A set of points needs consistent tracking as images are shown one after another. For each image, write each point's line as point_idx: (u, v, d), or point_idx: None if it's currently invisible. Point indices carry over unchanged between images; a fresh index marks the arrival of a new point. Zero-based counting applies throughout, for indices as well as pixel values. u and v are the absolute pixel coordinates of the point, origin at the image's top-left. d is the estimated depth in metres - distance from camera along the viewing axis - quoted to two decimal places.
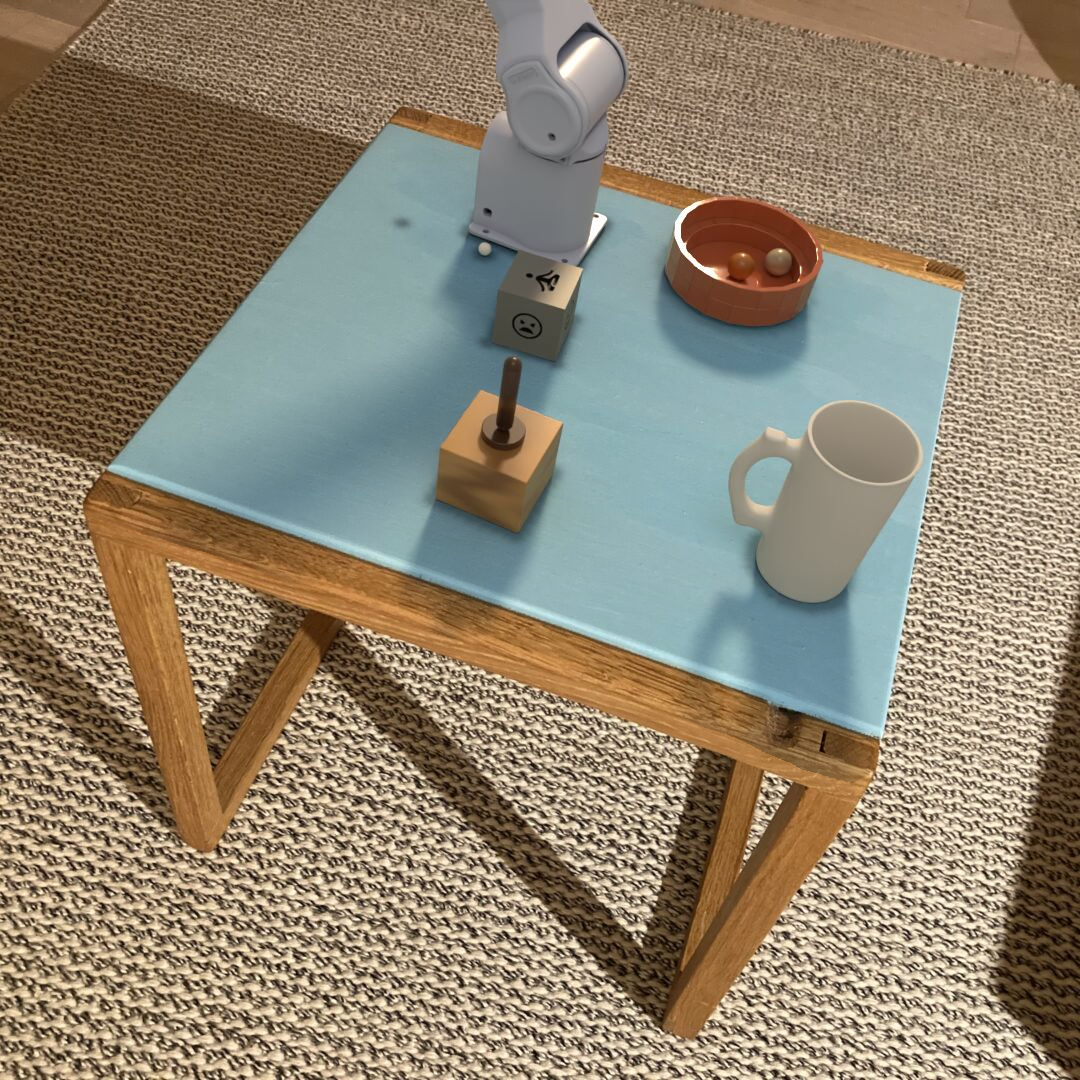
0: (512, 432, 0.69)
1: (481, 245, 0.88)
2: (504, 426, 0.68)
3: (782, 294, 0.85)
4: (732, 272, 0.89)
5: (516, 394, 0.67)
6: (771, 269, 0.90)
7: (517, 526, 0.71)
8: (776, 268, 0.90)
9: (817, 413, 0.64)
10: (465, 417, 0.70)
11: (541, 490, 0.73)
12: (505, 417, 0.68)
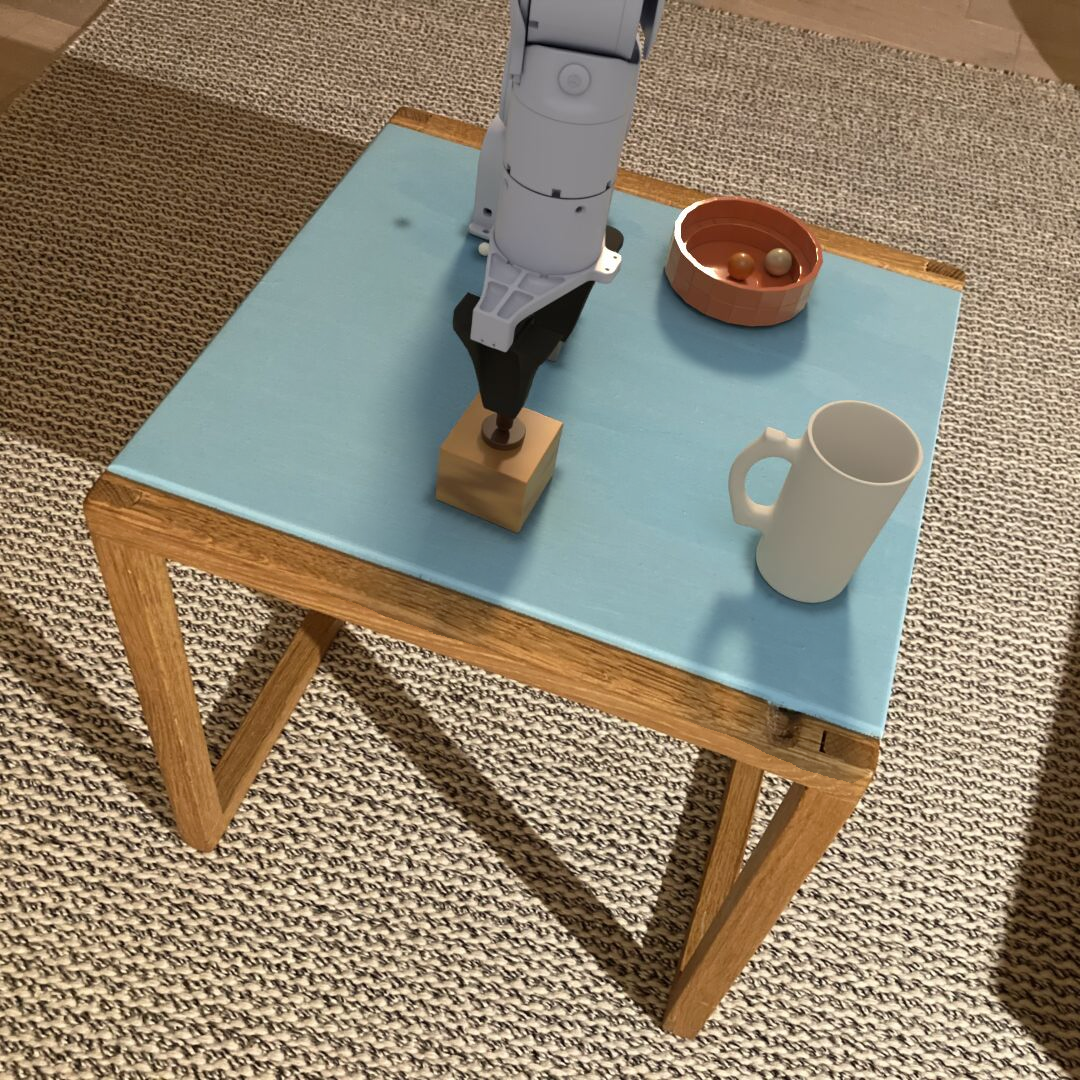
0: (512, 432, 0.69)
1: (481, 245, 0.88)
2: (504, 426, 0.68)
3: (782, 294, 0.85)
4: (732, 272, 0.89)
5: None
6: (771, 269, 0.90)
7: (517, 526, 0.71)
8: (776, 268, 0.90)
9: (817, 413, 0.64)
10: (465, 417, 0.70)
11: (541, 490, 0.73)
12: (505, 417, 0.68)
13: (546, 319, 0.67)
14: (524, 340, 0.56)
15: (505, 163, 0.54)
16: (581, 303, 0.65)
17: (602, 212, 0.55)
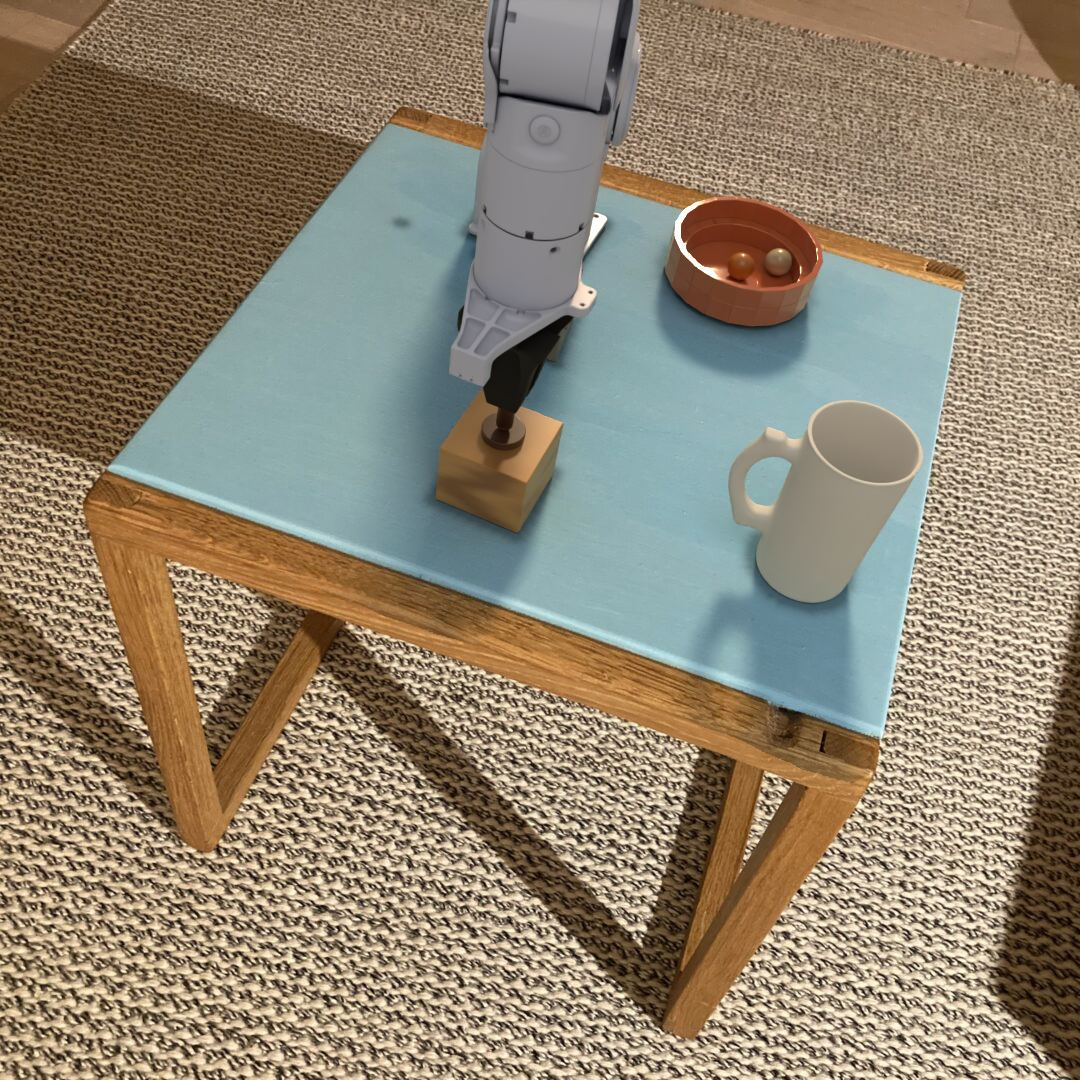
0: (512, 432, 0.69)
1: None
2: (504, 426, 0.68)
3: (782, 294, 0.85)
4: (732, 272, 0.89)
5: None
6: (771, 269, 0.90)
7: (517, 526, 0.71)
8: (776, 268, 0.90)
9: (817, 413, 0.64)
10: (465, 417, 0.70)
11: (541, 490, 0.73)
12: (505, 417, 0.68)
13: None
14: (524, 341, 0.60)
15: (482, 204, 0.56)
16: None
17: (577, 252, 0.57)
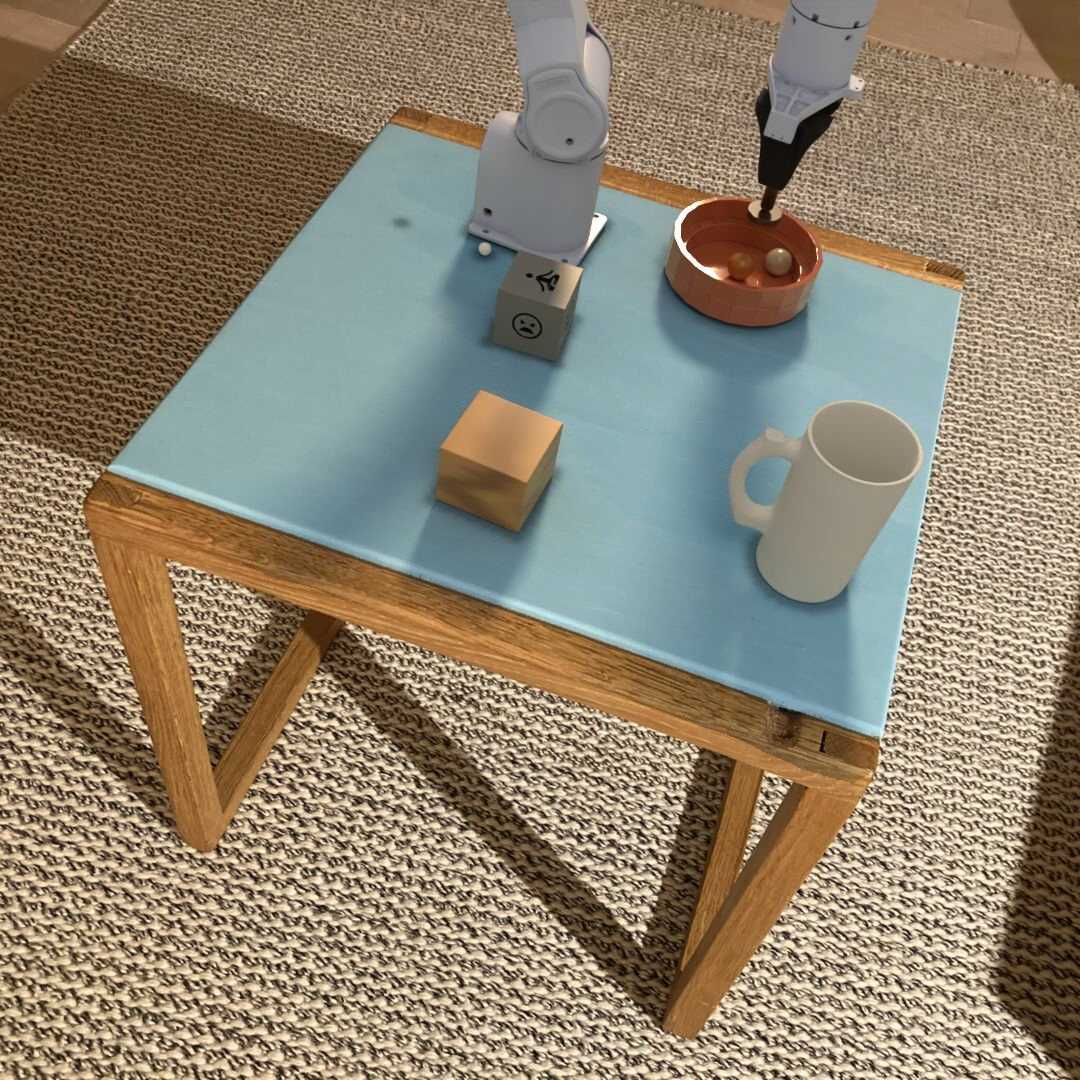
0: (772, 213, 0.88)
1: (481, 245, 0.88)
2: (768, 207, 0.88)
3: (782, 294, 0.85)
4: (732, 272, 0.89)
5: None
6: (771, 269, 0.90)
7: (517, 526, 0.71)
8: (776, 268, 0.90)
9: (817, 413, 0.64)
10: (465, 417, 0.70)
11: (541, 490, 0.73)
12: (771, 198, 0.87)
13: None
14: (809, 119, 0.79)
15: (850, 25, 0.74)
16: None
17: (861, 42, 0.76)
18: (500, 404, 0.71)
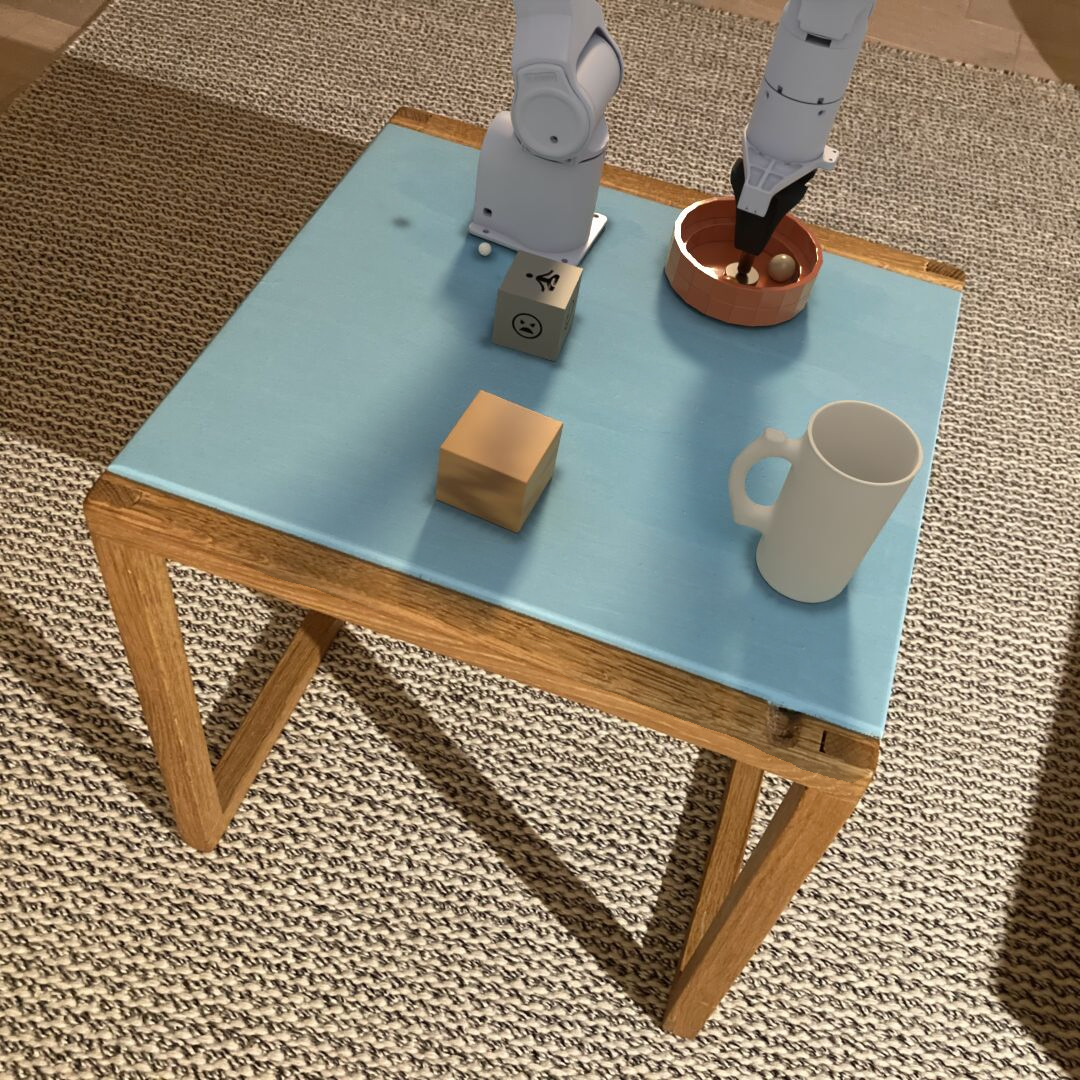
0: (749, 276, 0.89)
1: (481, 245, 0.88)
2: (745, 270, 0.88)
3: (782, 294, 0.85)
4: None
5: None
6: (772, 277, 0.90)
7: (517, 526, 0.71)
8: (777, 278, 0.90)
9: (817, 413, 0.64)
10: (465, 417, 0.70)
11: (541, 490, 0.73)
12: (747, 262, 0.87)
13: None
14: (783, 189, 0.80)
15: (814, 100, 0.74)
16: None
17: (834, 116, 0.76)
18: (500, 404, 0.71)
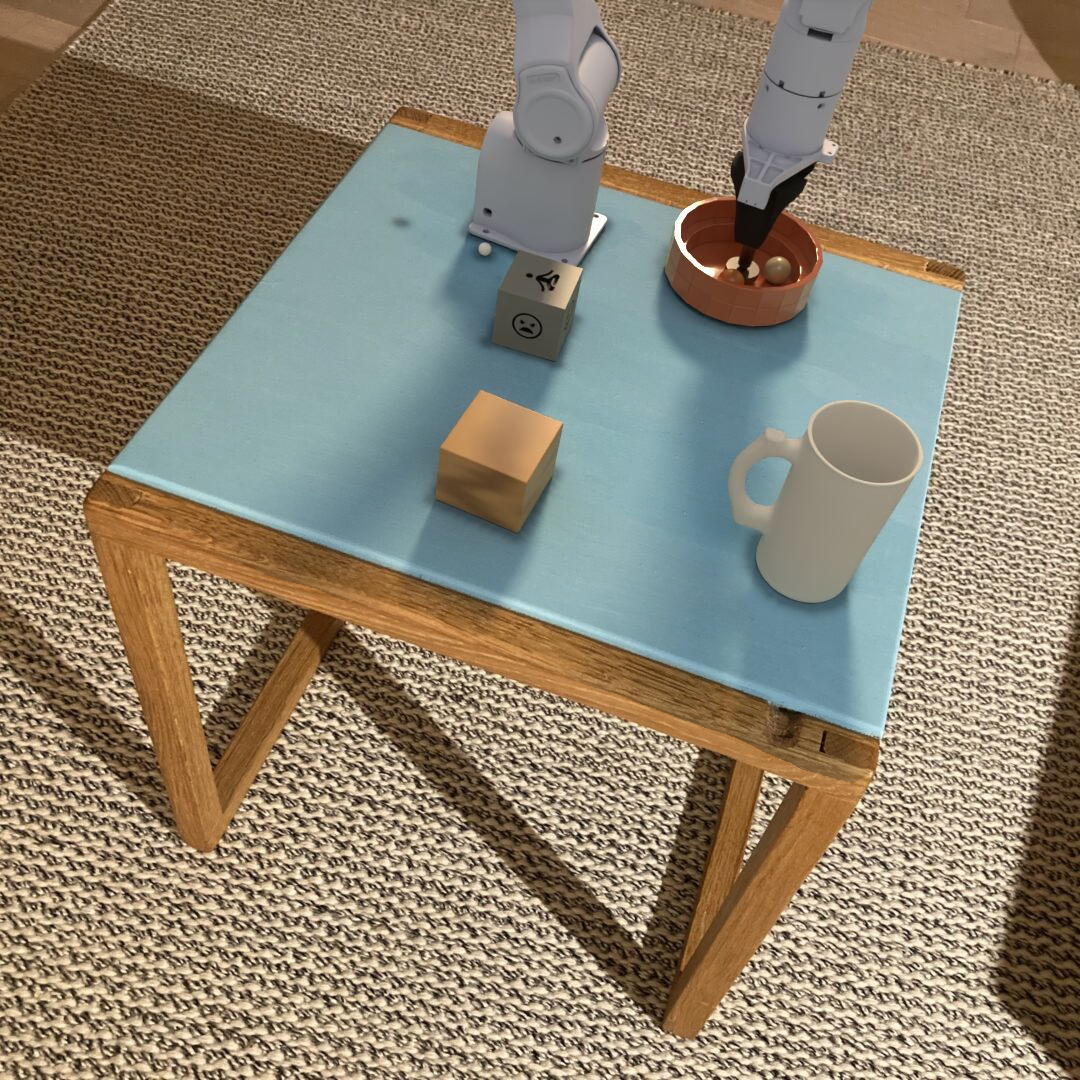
0: (749, 271, 0.89)
1: (481, 245, 0.88)
2: (744, 264, 0.89)
3: (782, 294, 0.85)
4: None
5: None
6: (769, 281, 0.90)
7: (517, 526, 0.71)
8: (773, 283, 0.90)
9: (817, 413, 0.64)
10: (465, 417, 0.70)
11: (541, 490, 0.73)
12: (747, 256, 0.88)
13: None
14: (783, 182, 0.80)
15: (815, 94, 0.75)
16: None
17: (833, 109, 0.77)
18: (500, 404, 0.71)
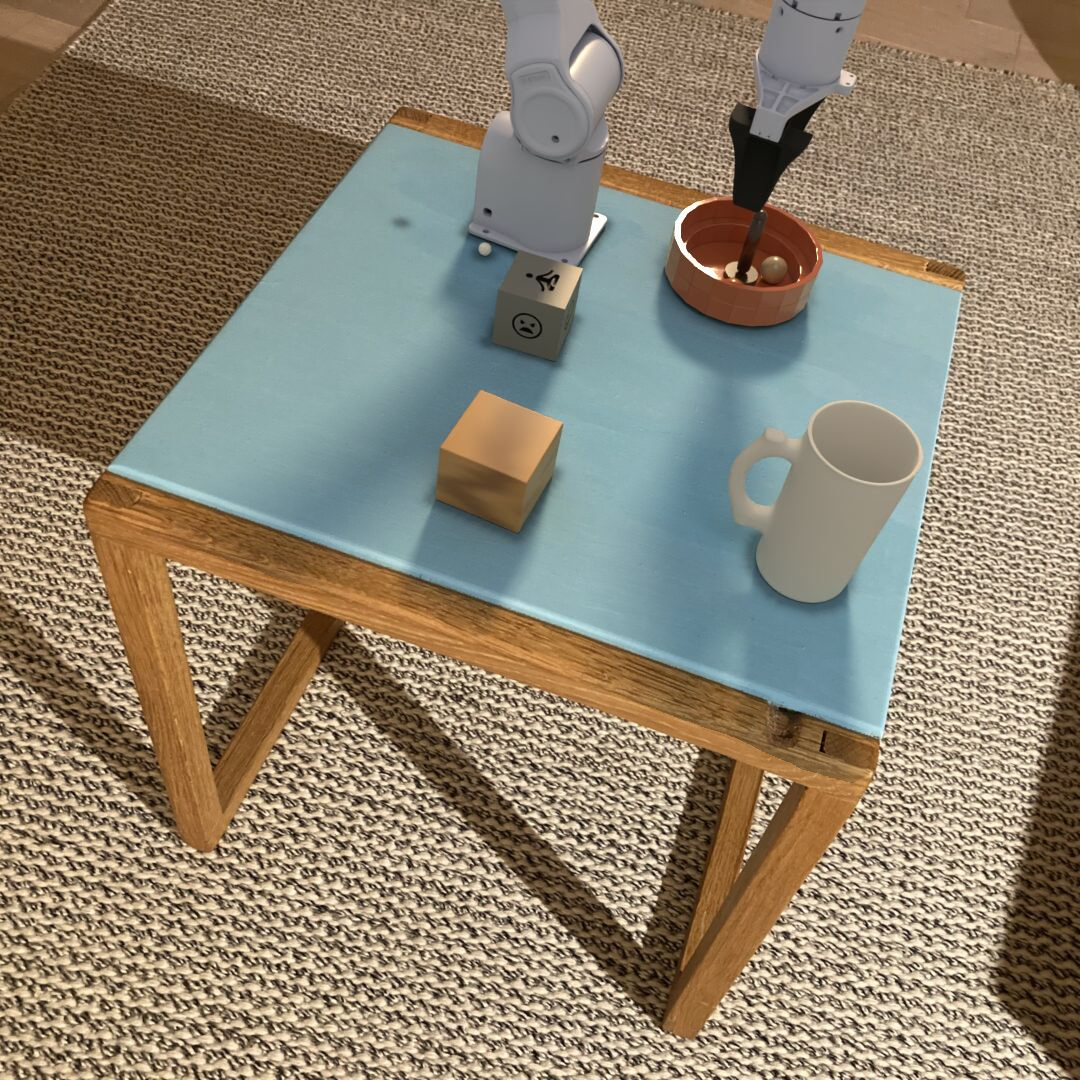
0: (748, 275, 0.90)
1: (481, 245, 0.88)
2: (743, 269, 0.89)
3: (782, 294, 0.85)
4: None
5: (758, 241, 0.87)
6: None
7: (517, 526, 0.71)
8: None
9: (817, 413, 0.64)
10: (465, 417, 0.70)
11: (541, 490, 0.73)
12: (746, 260, 0.88)
13: None
14: (786, 136, 0.73)
15: (831, 16, 0.70)
16: (804, 126, 0.82)
17: (852, 35, 0.72)
18: (500, 404, 0.71)
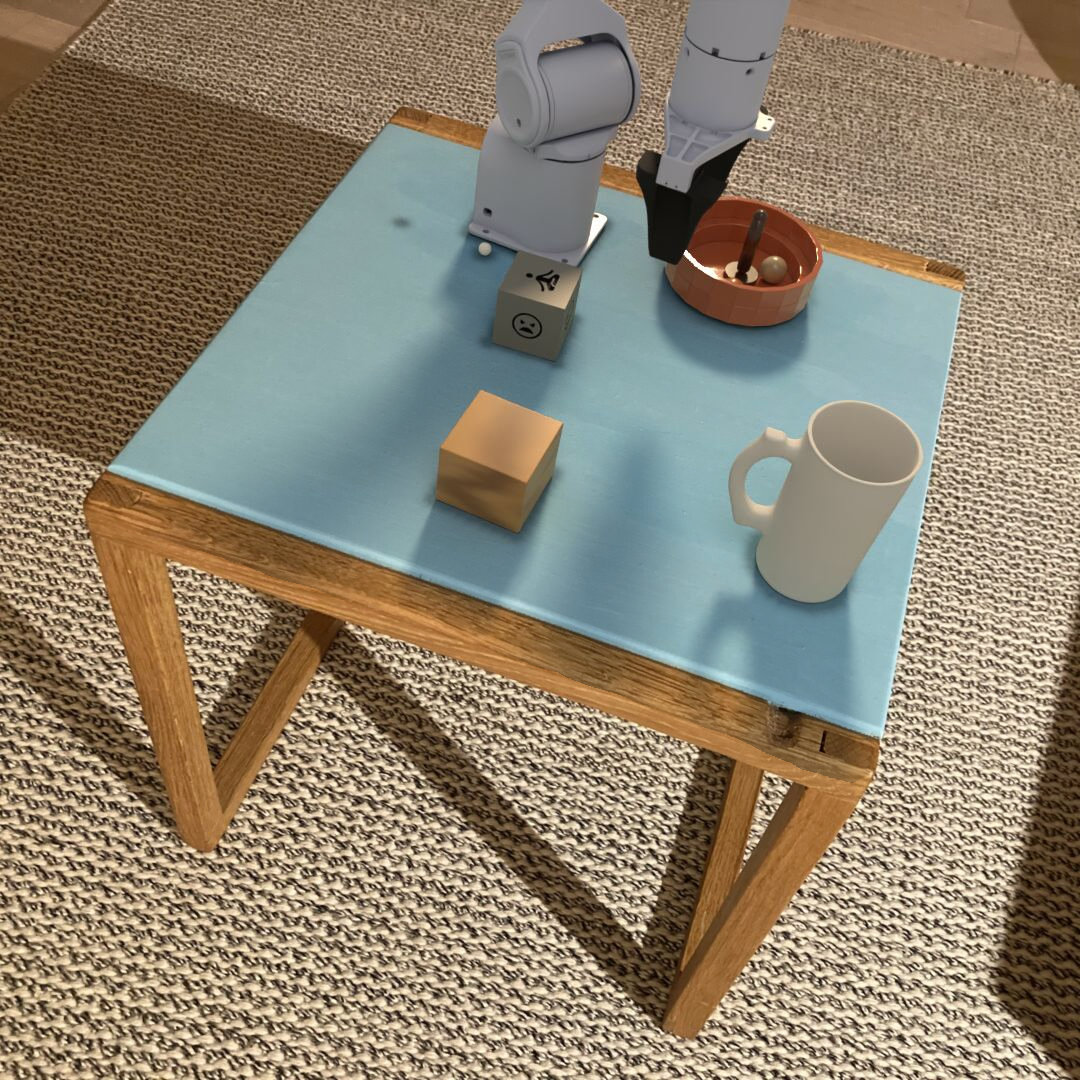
0: (748, 275, 0.90)
1: (481, 245, 0.88)
2: (743, 269, 0.89)
3: (782, 294, 0.85)
4: None
5: (758, 241, 0.87)
6: None
7: (517, 526, 0.71)
8: None
9: (817, 413, 0.64)
10: (465, 417, 0.70)
11: (541, 490, 0.73)
12: (746, 260, 0.88)
13: None
14: (697, 186, 0.68)
15: (708, 49, 0.64)
16: (728, 171, 0.76)
17: (765, 76, 0.66)
18: (500, 404, 0.71)
